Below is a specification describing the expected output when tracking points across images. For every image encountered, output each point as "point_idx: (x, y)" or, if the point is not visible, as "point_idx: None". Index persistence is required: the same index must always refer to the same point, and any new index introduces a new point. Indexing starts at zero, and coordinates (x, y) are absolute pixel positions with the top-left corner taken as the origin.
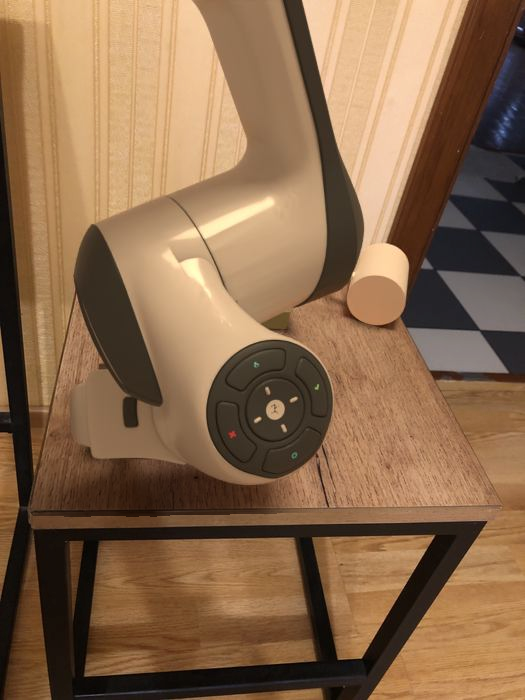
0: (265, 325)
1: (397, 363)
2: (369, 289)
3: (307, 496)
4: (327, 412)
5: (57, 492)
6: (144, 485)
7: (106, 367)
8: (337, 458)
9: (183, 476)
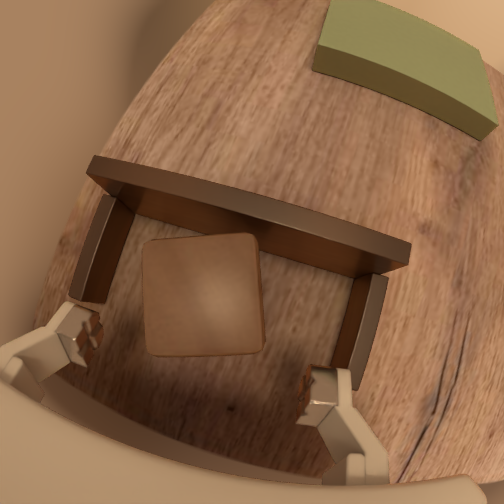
0: (457, 123)
1: None
2: None
3: None
4: None
5: None
6: (146, 390)
7: (100, 169)
8: (453, 419)
9: (211, 399)
